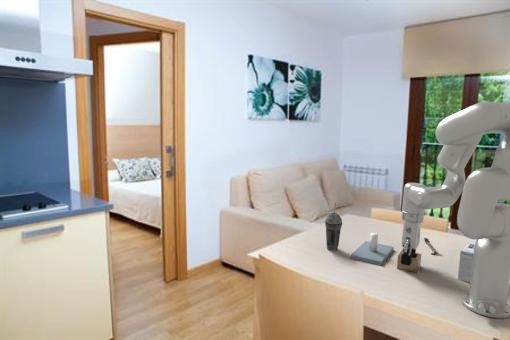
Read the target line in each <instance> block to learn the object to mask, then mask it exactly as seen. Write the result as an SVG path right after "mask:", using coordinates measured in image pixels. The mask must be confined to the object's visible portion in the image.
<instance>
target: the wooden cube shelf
mask: <svg viewBox="0 0 510 340" xmlns="http://www.w3.org/2000/svg"><path fill="white" fill-rule="evenodd" d="M402 251H403V249H402V250H401V251H400V252H399V253H398V255H397V260H396V261H397V263H396V269H398V270H402V271H407V272H411V273H415V274H418V272H419V270H420V268H421V264H422V262H421V261H422V253H418V252H416V253H414V252H411V264H410V266H408V265H403V264H401V256H402Z"/></svg>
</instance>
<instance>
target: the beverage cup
mask: <svg viewBox="0 0 510 340" xmlns="http://www.w3.org/2000/svg"><path fill="white" fill-rule="evenodd" d="M336 204H337V202H334V204H333V205H334V207H333V212H332V213H329V214H327V216H326V218H325V220H324V223H325V224H324V225H325V236H326V239H325V240H326V250H328V251H332V252H335V251H338V249H339V244H340V239H341V237H340V236H341V230H342V227H343V219H342V217H341V215H339V214H338V213H336V207H337V205H336Z"/></svg>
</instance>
